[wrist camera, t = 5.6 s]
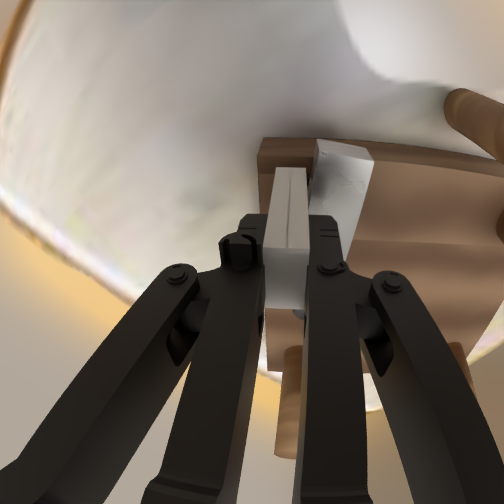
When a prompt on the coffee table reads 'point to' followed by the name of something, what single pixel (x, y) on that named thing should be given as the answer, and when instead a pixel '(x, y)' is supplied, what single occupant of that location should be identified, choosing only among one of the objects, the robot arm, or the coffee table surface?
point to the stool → (403, 248)
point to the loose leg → (477, 120)
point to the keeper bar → (338, 188)
